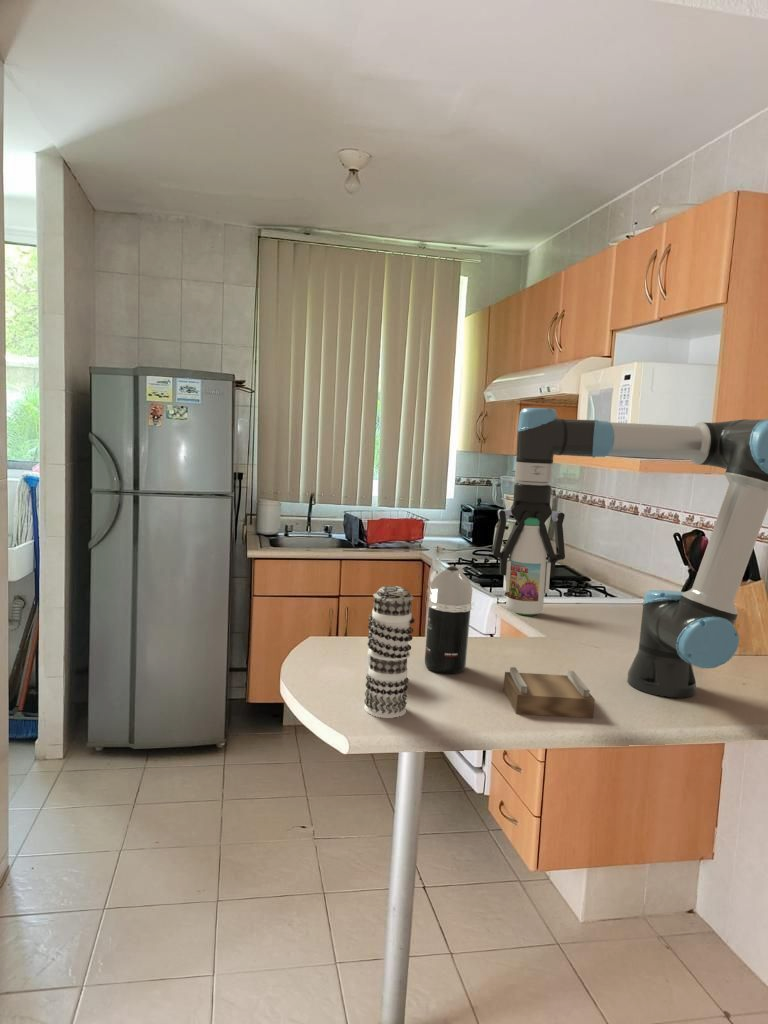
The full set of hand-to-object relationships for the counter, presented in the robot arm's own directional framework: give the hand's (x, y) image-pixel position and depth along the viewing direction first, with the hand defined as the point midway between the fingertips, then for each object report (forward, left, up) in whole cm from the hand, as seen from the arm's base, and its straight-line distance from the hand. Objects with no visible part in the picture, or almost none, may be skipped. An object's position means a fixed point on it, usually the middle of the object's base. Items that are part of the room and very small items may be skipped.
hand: (525, 591), depth 154 cm
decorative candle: (+28, +9, -24) cm, 38 cm away
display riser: (-7, 0, -24) cm, 25 cm away
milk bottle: (0, 0, -4) cm, 4 cm away
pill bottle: (+28, -10, -25) cm, 39 cm away
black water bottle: (+13, -19, -24) cm, 34 cm away
